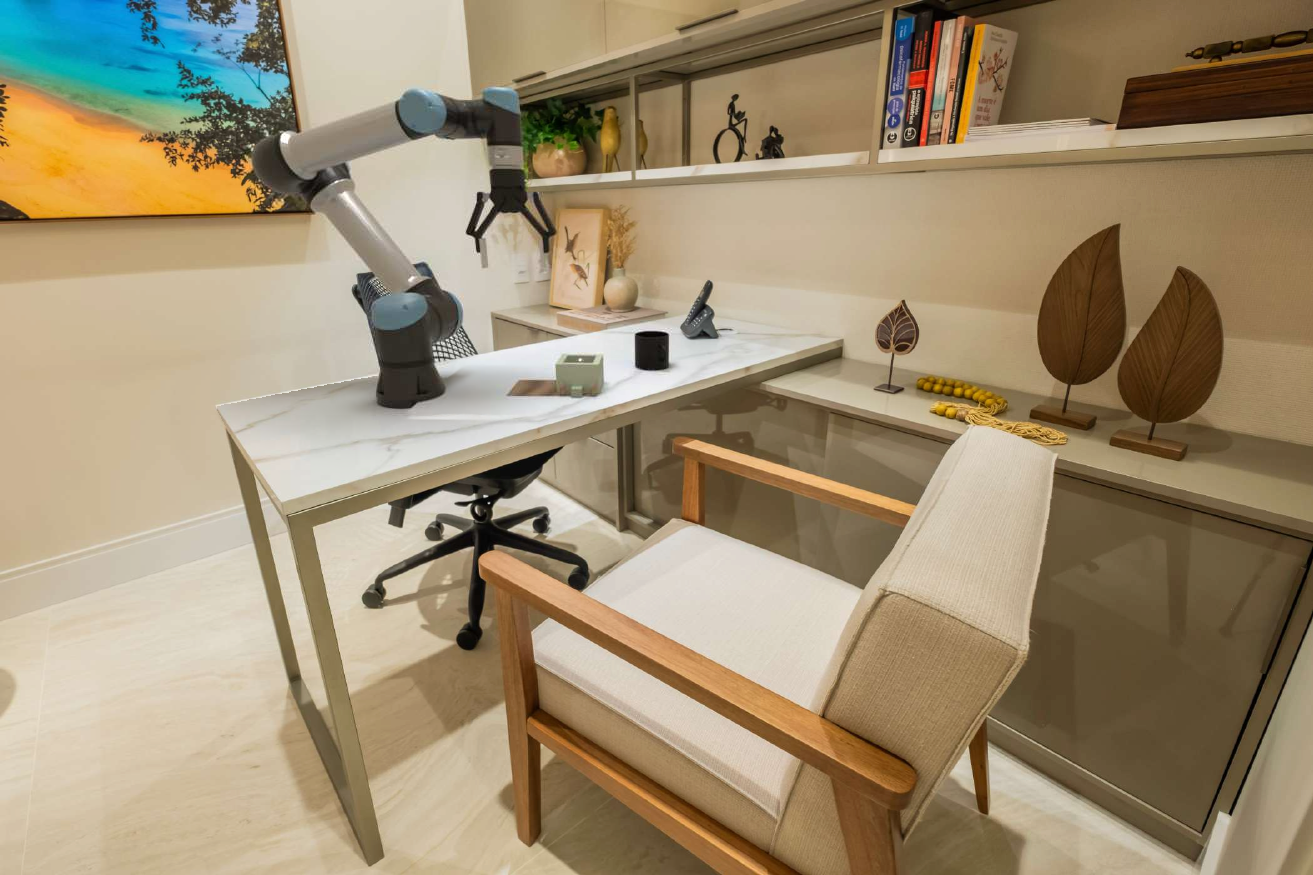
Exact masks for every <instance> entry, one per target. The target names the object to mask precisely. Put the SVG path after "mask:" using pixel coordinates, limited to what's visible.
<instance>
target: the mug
mask: <svg viewBox="0 0 1313 875" xmlns="http://www.w3.org/2000/svg"><path fill="white" fill-rule="evenodd" d="M669 365H670V335H669V333H668V332H666V331H661V330H643V331H638V332H636V333H635V334H634V366H635V368H637V369H638V370H642V371H643V370H644V371H660V370H665V369H667V368H668V367H670V366H669Z"/></svg>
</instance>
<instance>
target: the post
mask: <svg viewBox="0 0 1313 875" xmlns="http://www.w3.org/2000/svg"><path fill="white" fill-rule="evenodd" d="M575 363H586V362H585V360H584V359H583V358H578V359H577V360H576V361H575Z"/></svg>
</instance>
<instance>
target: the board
mask: <svg viewBox="0 0 1313 875" xmlns="http://www.w3.org/2000/svg"><path fill="white" fill-rule="evenodd" d="M559 385H560V393H557V384H556V379H518V380H517V382H516V383H515V384H514V385H513V387H512V388H511V389H510V391H509V392H508V393H507V394H506V395H505V396H507V397H570V398H572V397H571V393H565V383H564V382H560V383H559ZM583 397H584V398H585V397H587V398H588V397H589V398H590V397H591V398H595V397H596V398H597V397H598V394H595V383H594V382H591V383H590V394H583V396H582V397H581V398H583Z"/></svg>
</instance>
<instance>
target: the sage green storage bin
mask: <svg viewBox="0 0 1313 875" xmlns="http://www.w3.org/2000/svg"><path fill="white" fill-rule="evenodd" d="M578 358H583V359H584V360H585V362H586V363H575V361H576V360H577V359H578ZM554 366H555V380H556V384H557V393H560V385H559V383H560V382H564V383H565V393H571V397H570V398H583V397H582V396H583V394H590V383H591V382H594V383H595V394H599V395H600V394H601V391H602V389H603V386H604V383H605V378H604V377H605V375H604V374H605V373H604V370H605V369H604V354H602V353H598V354H597V353H561V355H560V357H559V358H558V359H557V361H556V363H555V365H554Z"/></svg>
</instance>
